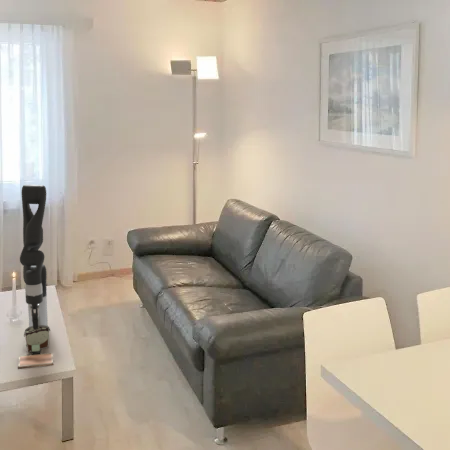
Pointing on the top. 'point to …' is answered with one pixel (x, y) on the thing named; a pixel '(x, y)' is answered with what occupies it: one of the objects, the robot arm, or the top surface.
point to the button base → (35, 352)
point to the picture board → (35, 360)
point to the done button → (36, 347)
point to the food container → (37, 336)
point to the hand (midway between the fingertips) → (35, 325)
